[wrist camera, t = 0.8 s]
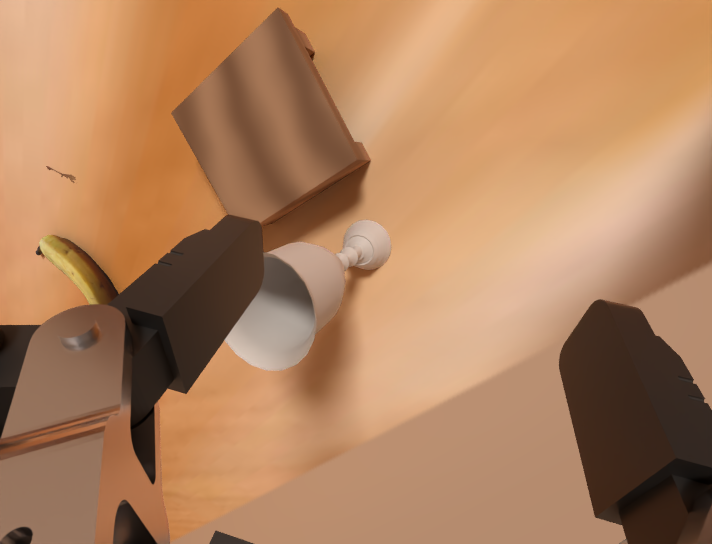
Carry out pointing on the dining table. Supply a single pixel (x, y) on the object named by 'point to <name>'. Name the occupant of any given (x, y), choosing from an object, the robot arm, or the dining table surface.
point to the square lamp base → (268, 125)
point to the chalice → (302, 296)
